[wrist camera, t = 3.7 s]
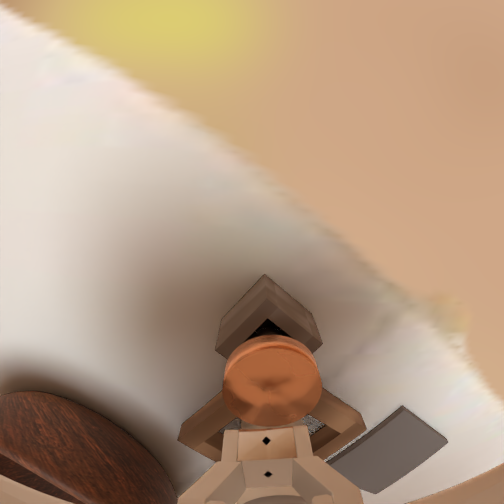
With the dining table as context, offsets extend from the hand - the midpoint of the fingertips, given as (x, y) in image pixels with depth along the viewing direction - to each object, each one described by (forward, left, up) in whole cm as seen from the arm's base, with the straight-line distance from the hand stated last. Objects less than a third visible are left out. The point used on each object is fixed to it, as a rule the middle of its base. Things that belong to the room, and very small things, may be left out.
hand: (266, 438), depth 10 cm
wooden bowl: (+2, +27, -11) cm, 29 cm away
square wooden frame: (-5, +5, -11) cm, 13 cm away
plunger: (0, 0, -8) cm, 8 cm away
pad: (-20, +4, -11) cm, 23 cm away
